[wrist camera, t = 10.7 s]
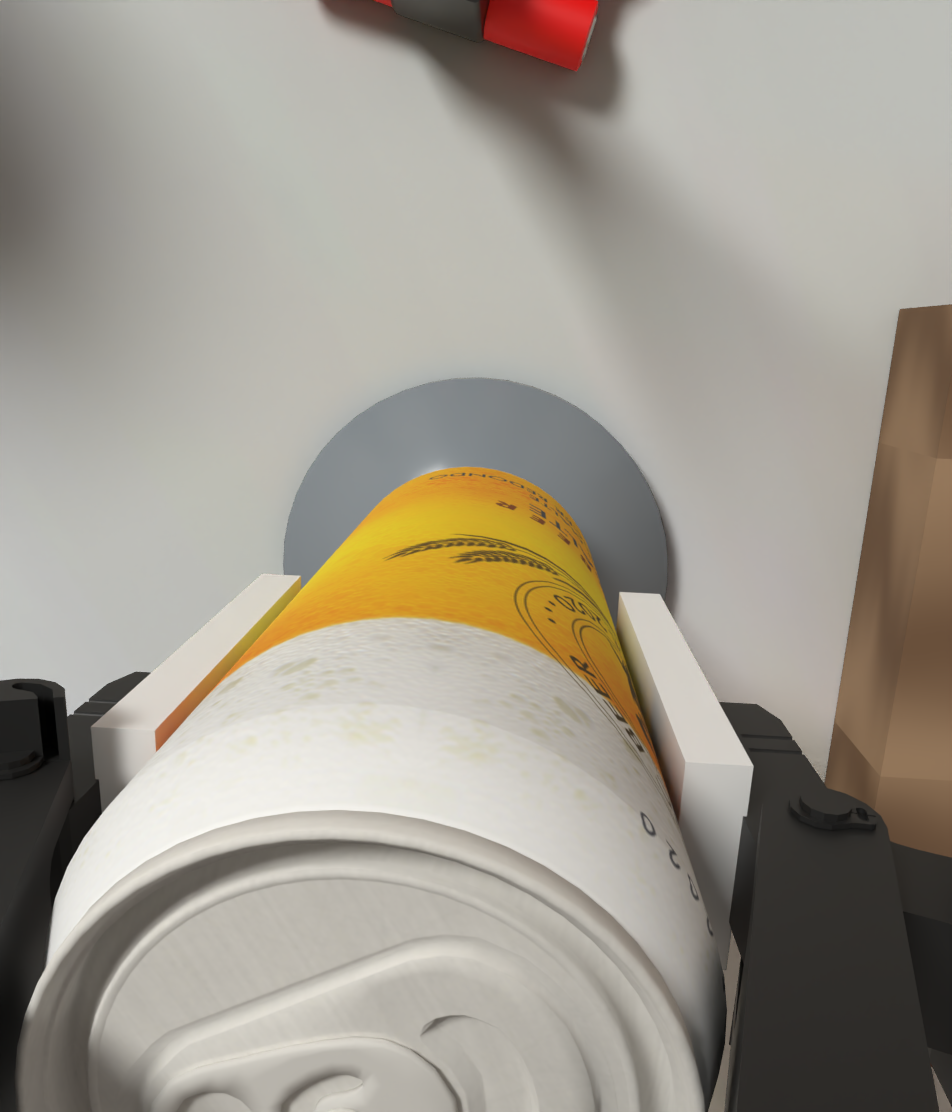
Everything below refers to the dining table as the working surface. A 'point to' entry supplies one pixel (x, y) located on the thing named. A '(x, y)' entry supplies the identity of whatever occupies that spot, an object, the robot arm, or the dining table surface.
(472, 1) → the tow hook
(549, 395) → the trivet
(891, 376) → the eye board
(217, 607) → the dining table surface
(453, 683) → the beer can
